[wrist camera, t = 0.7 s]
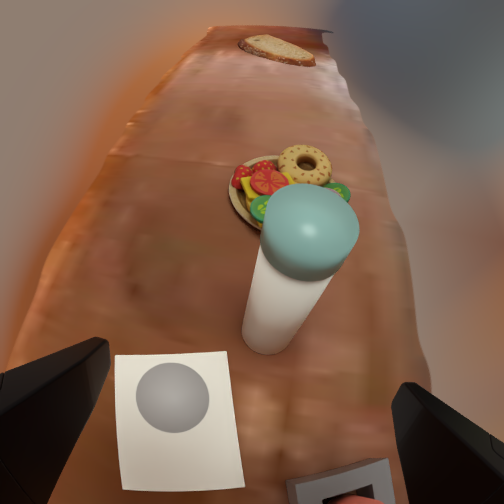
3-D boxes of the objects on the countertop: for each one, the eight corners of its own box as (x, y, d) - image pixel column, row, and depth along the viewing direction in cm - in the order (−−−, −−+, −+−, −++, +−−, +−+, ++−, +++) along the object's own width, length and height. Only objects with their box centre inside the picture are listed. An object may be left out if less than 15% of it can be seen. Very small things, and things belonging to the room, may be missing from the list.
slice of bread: (319, 70, 63) (322, 56, 60) (242, 62, 60) (244, 47, 57) (300, 47, 73) (302, 36, 70) (236, 42, 70) (237, 30, 67)
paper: (244, 486, 18) (245, 487, 17) (123, 489, 16) (122, 489, 16) (226, 351, 24) (226, 350, 24) (115, 355, 22) (114, 354, 22)
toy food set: (314, 159, 40) (320, 139, 37) (364, 235, 33) (375, 215, 30) (215, 170, 36) (217, 148, 34) (250, 259, 30) (254, 238, 27)
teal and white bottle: (297, 352, 24) (372, 254, 13) (243, 358, 24) (276, 259, 12) (287, 304, 27) (342, 184, 16) (237, 309, 26) (259, 183, 15)
